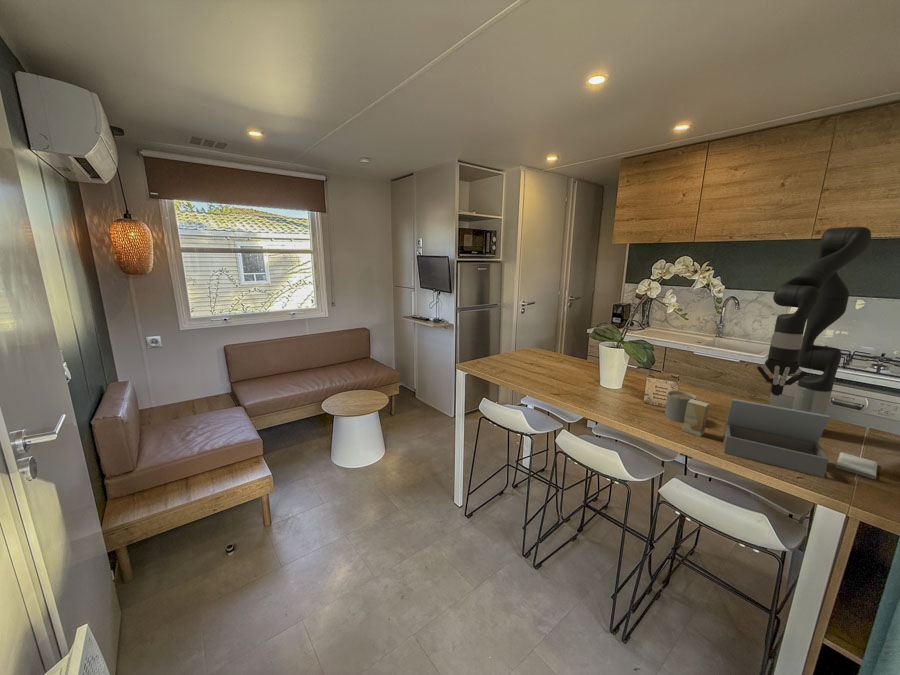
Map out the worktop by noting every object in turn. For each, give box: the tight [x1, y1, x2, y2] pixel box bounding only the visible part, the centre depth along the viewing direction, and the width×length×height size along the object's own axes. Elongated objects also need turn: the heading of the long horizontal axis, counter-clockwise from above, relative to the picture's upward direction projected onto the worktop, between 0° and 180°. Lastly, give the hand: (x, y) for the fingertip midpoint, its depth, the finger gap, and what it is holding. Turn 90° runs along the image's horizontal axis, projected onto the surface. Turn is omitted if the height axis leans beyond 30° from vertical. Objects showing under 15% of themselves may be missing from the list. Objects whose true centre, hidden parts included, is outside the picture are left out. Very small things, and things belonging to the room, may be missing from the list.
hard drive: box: [835, 451, 878, 480], centre depth 112 cm, size 2×8×12 cm
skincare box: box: [681, 399, 711, 437], centre depth 133 cm, size 6×4×12 cm
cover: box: [725, 398, 830, 443], centre depth 119 cm, size 12×24×1 cm
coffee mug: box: [664, 390, 697, 423], centre depth 148 cm, size 13×10×10 cm
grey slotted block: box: [722, 423, 829, 478], centre depth 117 cm, size 12×24×6 cm, turn 54°
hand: (775, 394), depth 121 cm, fingers closed
